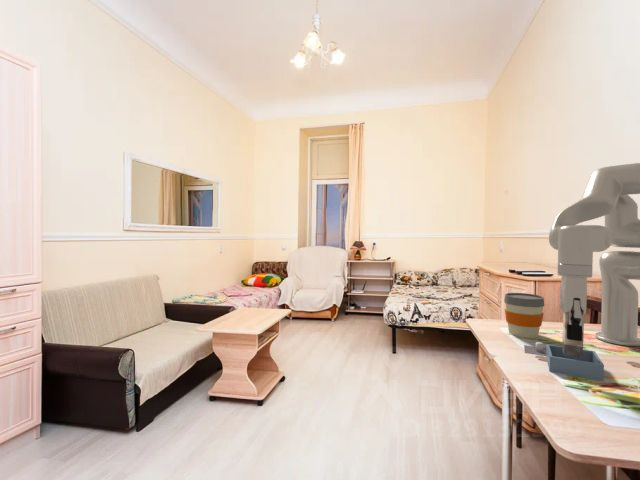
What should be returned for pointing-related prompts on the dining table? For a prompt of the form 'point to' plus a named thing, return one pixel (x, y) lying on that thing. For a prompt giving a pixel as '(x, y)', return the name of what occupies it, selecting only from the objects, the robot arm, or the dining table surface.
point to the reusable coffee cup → (524, 314)
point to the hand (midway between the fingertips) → (572, 336)
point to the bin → (575, 363)
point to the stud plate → (528, 348)
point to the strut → (572, 346)
